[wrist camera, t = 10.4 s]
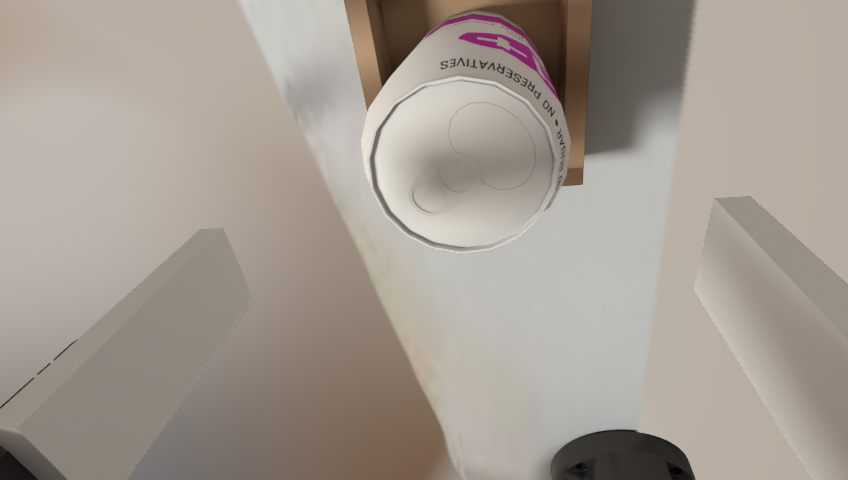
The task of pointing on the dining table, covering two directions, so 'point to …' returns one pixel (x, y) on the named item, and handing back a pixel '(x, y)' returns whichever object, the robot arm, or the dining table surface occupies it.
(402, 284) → the dining table surface
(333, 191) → the dining table surface
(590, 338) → the dining table surface
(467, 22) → the supplement can
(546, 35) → the walnut caddy
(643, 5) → the dining table surface
